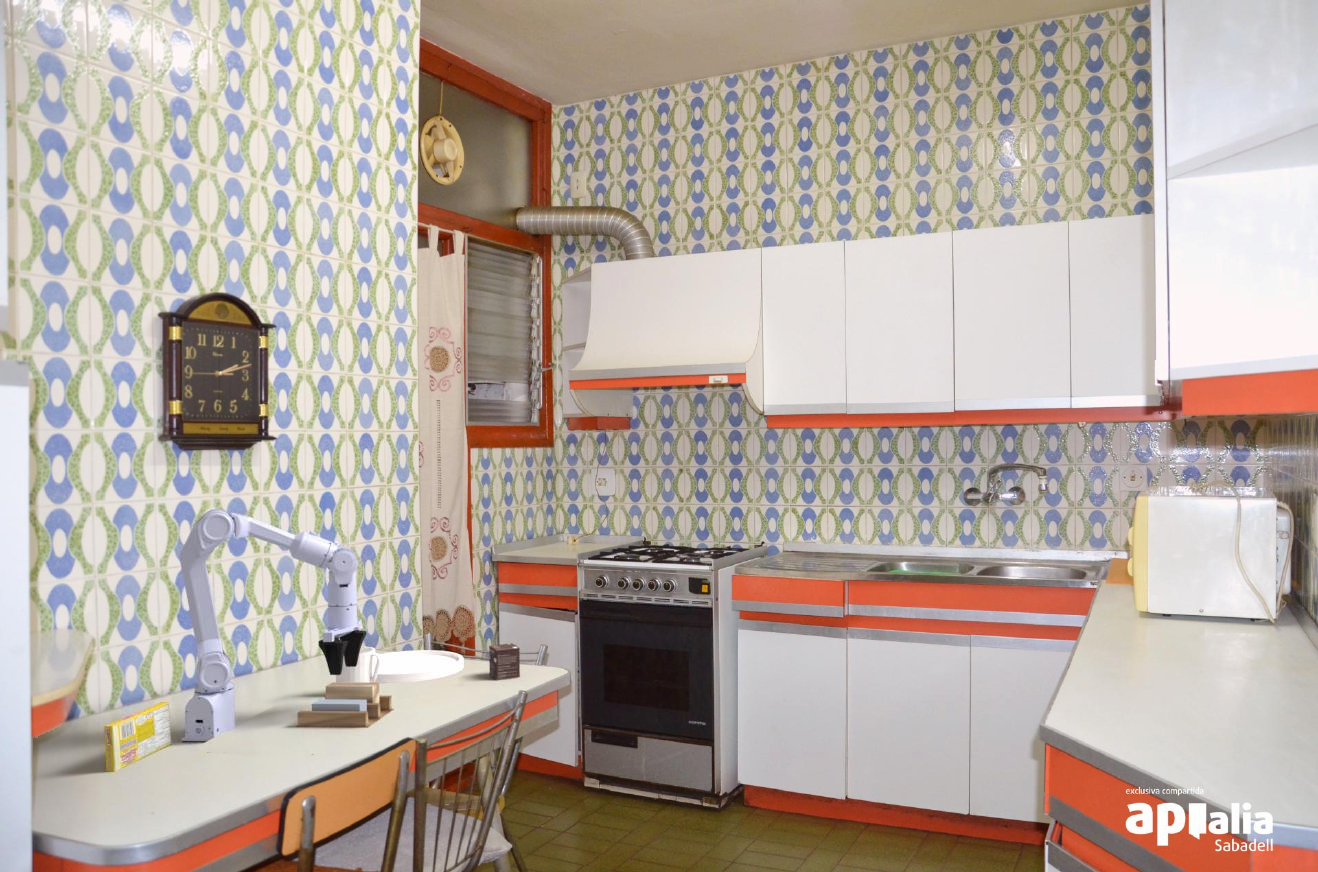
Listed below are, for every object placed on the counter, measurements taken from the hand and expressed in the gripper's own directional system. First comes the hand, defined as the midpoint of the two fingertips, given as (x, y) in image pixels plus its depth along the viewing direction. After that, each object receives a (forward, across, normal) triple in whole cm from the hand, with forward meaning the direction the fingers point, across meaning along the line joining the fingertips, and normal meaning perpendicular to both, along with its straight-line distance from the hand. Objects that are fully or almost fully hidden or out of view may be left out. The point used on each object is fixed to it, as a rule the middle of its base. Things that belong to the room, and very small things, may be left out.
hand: (343, 670), depth 210 cm
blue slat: (+9, -6, -2) cm, 11 cm away
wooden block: (+9, 0, -2) cm, 9 cm away
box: (+10, +38, -24) cm, 46 cm away
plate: (+10, +45, +3) cm, 46 cm away
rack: (+10, -3, -2) cm, 11 cm away
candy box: (+10, -27, +27) cm, 40 cm away
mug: (+10, +18, +4) cm, 21 cm away
